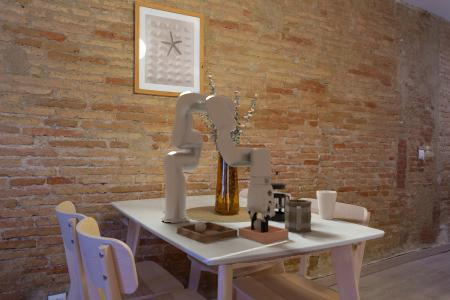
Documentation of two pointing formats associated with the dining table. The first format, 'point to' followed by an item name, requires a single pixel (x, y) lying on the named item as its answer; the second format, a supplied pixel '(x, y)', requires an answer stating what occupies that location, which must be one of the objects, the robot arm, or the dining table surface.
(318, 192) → the foam cup
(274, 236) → the terracotta dish
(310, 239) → the dining table surface
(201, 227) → the beige ball
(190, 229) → the walnut tray
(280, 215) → the french press
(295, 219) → the mug
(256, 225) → the grey ball
